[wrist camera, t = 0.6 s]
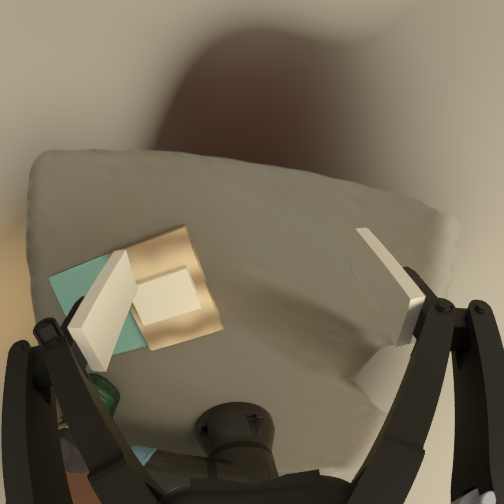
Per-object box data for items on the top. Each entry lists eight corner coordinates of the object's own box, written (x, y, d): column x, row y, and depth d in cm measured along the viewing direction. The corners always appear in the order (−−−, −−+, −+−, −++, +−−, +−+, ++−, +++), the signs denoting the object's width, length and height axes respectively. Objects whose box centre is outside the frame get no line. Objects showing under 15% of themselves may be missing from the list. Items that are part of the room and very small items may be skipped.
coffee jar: (94, 365, 44) (59, 437, 26) (127, 393, 46) (106, 469, 29) (70, 388, 45) (36, 454, 27) (100, 413, 47) (77, 482, 29)
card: (201, 303, 42) (201, 307, 40) (145, 321, 41) (143, 325, 40) (187, 265, 40) (186, 268, 39) (129, 284, 40) (126, 288, 38)
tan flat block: (222, 321, 46) (223, 329, 43) (153, 342, 45) (151, 350, 42) (186, 224, 41) (184, 227, 39) (112, 251, 41) (107, 255, 38)
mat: (151, 343, 45) (151, 344, 44) (90, 359, 44) (90, 360, 44) (110, 252, 41) (110, 253, 40) (49, 277, 40) (48, 277, 39)
